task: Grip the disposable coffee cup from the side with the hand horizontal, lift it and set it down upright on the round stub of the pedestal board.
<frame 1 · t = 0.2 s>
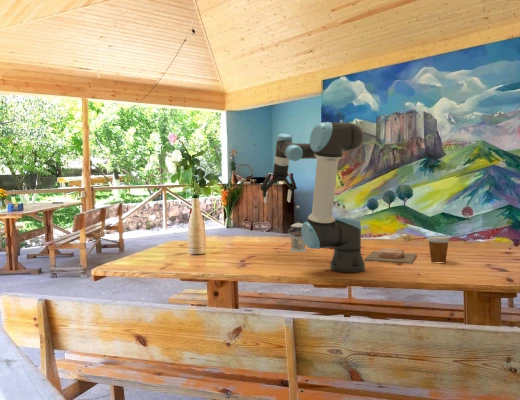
hand: (276, 202, 239), 28 cm above the table, tool tilted 20°, fingers open, 13 cm apart
bowl of food: (340, 247, 257), on the table
pedestal: (391, 258, 223), on the table
disposable coffee cup: (438, 262, 212), on the table
french press: (297, 250, 250), on the table
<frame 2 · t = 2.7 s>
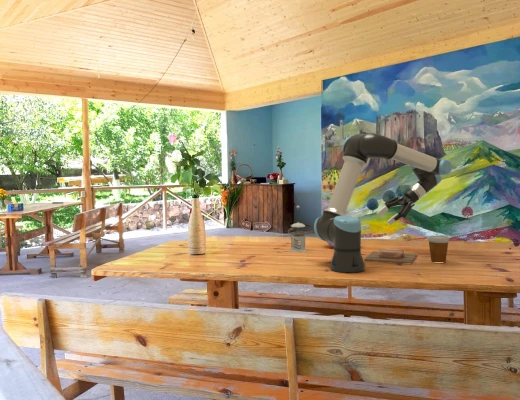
hand: (383, 219, 236), 18 cm above the table, tool tilted 50°, fingers open, 13 cm apart
nothing on the table moved.
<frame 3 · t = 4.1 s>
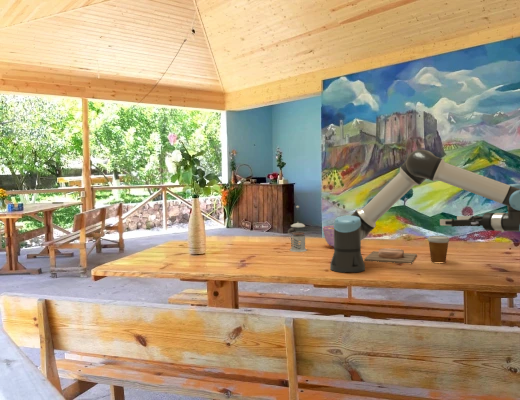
hand: (449, 220, 207), 20 cm above the table, tool horizontal, fingers open, 13 cm apart
nothing on the table moved.
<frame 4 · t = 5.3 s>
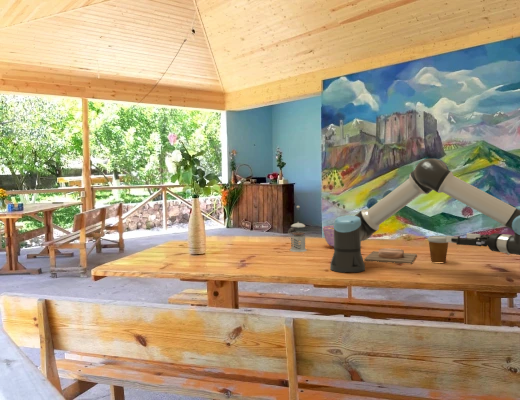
hand: (457, 237, 202), 13 cm above the table, tool horizontal, fingers open, 13 cm apart
nothing on the table moved.
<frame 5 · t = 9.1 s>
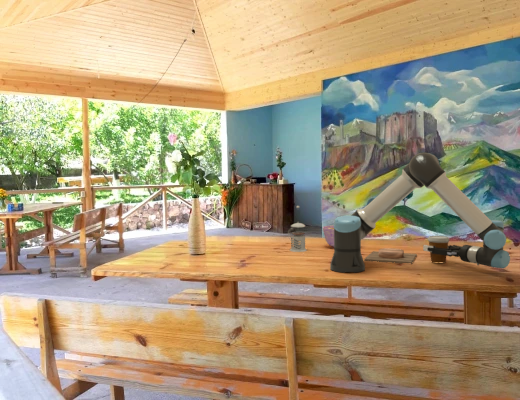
hand: (430, 246, 215), 7 cm above the table, tool horizontal, fingers closed on disposable coffee cup, 8 cm apart
disposable coffee cup: (438, 262, 212), on the table, touching gripper
everything else where it was.
when the fingers open (12 cm above the table, at t = 13.7 s): disposable coffee cup drops 1 cm, resting on pedestal.
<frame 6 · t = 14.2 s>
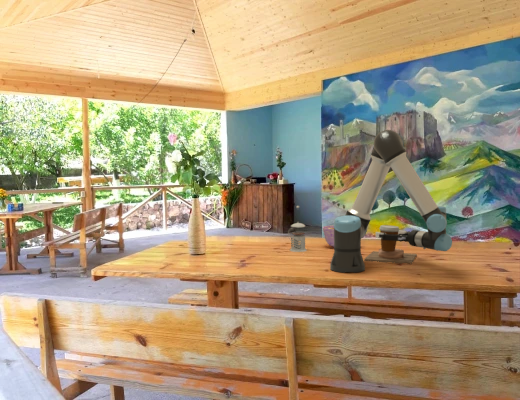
hand: (386, 233, 225), 12 cm above the table, tool horizontal, fingers open, 13 cm apart
disposable coffee cup: (388, 250, 221), point 4 cm above the table, touching gripper, pedestal
everything else where it was.
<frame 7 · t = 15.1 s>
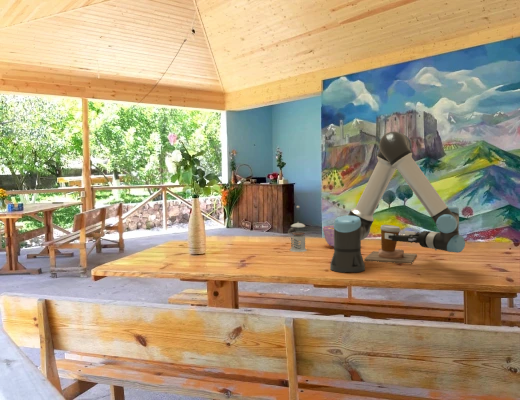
hand: (395, 234, 220), 12 cm above the table, tool horizontal, fingers open, 13 cm apart
disposable coffee cup: (387, 250, 221), point 4 cm above the table, touching pedestal
everything else where it was.
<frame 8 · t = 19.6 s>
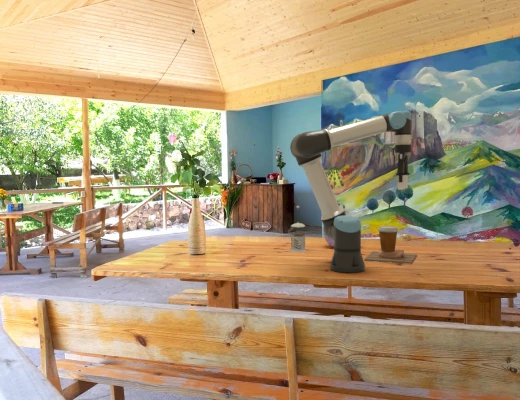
hand: (402, 189, 214), 35 cm above the table, tool pointing down, fingers open, 13 cm apart
at the end: disposable coffee cup inside the target area on the pedestal (3.0 cm from its centre), point 3.8 cm above the pedestal's base; disposable coffee cup tilted 0°; the gripper is holding nothing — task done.
